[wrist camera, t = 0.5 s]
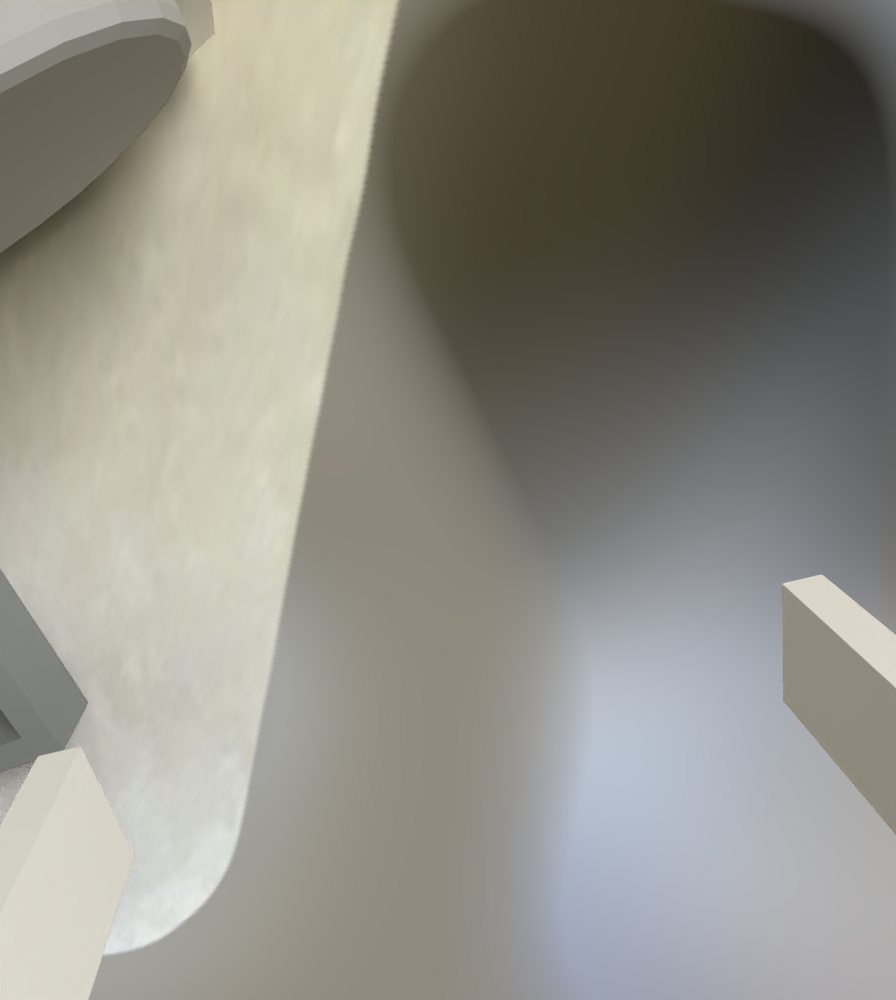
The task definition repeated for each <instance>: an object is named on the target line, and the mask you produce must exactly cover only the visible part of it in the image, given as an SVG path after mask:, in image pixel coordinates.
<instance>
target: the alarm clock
mask: <svg viewBox="0 0 896 1000" xmlns="http://www.w3.org/2000/svg"><path fill="white" fill-rule="evenodd" d="M213 34H214V22H213V12H212V4H211V1H210V0H0V253H1V252H3V251H4V250H5V249H7V248H8V247H10V246H11V245H12V244H14V243H15V242H17V241H18V240H19V239H21V238H22V237H24V236H25V235H26V234H28V233H29V232H31V231H32V230H33V229H35V228H36V227H38V226H39V225H40V224H42V223H43V222H44V221H46V220H47V219H48V218H49V217H51V216H52V215H53V214H54V213H56V212H57V211H58V210H59V209H61V208H62V207H63V206H64V205H66V204H67V203H68V202H69V201H71V200H72V199H73V198H74V197H76V196H77V195H78V194H79V193H80V192H81V191H83V190H84V189H85V188H86V187H87V186H88V185H89V184H90V183H91V182H93V181H94V180H95V179H96V178H97V177H98V176H99V175H100V174H102V173H103V172H104V171H105V170H106V169H107V168H108V167H109V166H110V165H112V164H113V163H114V161H115V160H116V159H117V158H118V157H119V156H120V155H121V154H122V153H123V152H124V151H125V150H126V149H127V148H128V147H129V146H130V145H131V144H132V143H133V142H134V141H135V140H136V139H137V138H138V137H139V136H140V135H141V133H142V132H143V131H144V130H145V128H146V127H147V126H148V125H149V123H150V122H151V121H152V120H153V118H154V117H155V116H156V115H157V113H158V112H159V111H160V110H161V109H162V107H163V106H164V104H165V103H166V101H167V99H168V98H169V96H170V94H171V92H172V91H173V89H174V87H175V86H176V84H177V82H178V81H179V79H180V77H181V75H182V73H183V72H184V70H185V68H186V64H187V60H188V58H189V57H190V56H191V55H192V54H193V53H194V52H195V51H196V50H197V49H198V48H199V47H201V46H202V45H203V44H204V43H205V42H206V41H207V40H208V39H209V38H210V37H211V36H212V35H213Z"/></svg>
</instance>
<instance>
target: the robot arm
mask: <svg viewBox="0 0 896 1000" xmlns="http://www.w3.org/2000/svg"><path fill="white" fill-rule="evenodd" d="M782 599H783V695H784V696H783V701H784V702H785V703H786V705H787V706H788V707H789V708H790V709H791V711H792V712H793V713H794V714H795V715H796V716H797V718H798V719H799V720H800V721H801V722H802V724H803V725H804V726H805V727H806V728H807V730H808V731H809V732H810V733H811V734H812V736H813V737H814V738H815V739H816V740H817V741H818V743H819V744H820V745H821V746H822V747H823V749H824V750H825V751H826V752H827V753H828V754H829V756H830V757H831V758H832V759H833V760H834V762H835V763H836V764H837V765H838V766H839V768H840V769H841V770H842V771H843V772H844V773H845V775H846V776H847V777H848V778H849V779H850V781H851V782H852V783H853V784H854V785H855V787H856V788H857V789H858V790H859V791H860V793H861V794H862V795H863V796H864V797H865V799H866V800H867V801H868V802H869V803H870V804H871V806H872V807H873V808H874V809H875V810H876V812H877V813H878V814H879V815H880V816H881V818H882V819H883V820H884V821H885V822H886V823H887V825H888V826H889V827H890V828H891V829H892V830H893V832H894V833H895V834H896V635H895V634H893V633H892V632H891V631H890V630H889V629H887V628H886V627H885V626H884V625H882V624H881V623H880V622H879V621H878V620H876V619H875V618H874V617H872V615H870V614H869V613H868V612H867V611H865V610H864V609H863V608H862V607H861V606H859V605H858V604H857V603H856V602H855V601H853V600H852V599H851V598H850V597H848V596H847V595H846V594H845V593H844V592H842V591H841V590H840V589H839V588H838V587H836V586H835V585H834V584H832V583H831V582H830V581H829V580H828V579H827V578H825V577H824V576H823V575H818V576H814V577H809V578H805V579H801V580H796V581H792V582H787V583H783V584H782ZM134 856H135V855H134V853H133V851H132V849H131V847H130V845H129V843H128V841H127V839H126V837H125V835H124V833H123V831H122V829H121V827H120V825H119V823H118V821H117V819H116V817H115V815H114V813H113V811H112V809H111V807H110V805H109V803H108V801H107V799H106V797H105V795H104V793H103V791H102V789H101V787H100V785H99V782H98V780H97V778H96V776H95V774H94V772H93V770H92V768H91V766H90V764H89V762H88V760H87V758H86V756H85V754H84V752H83V750H82V748H81V746H80V747H75V748H71V749H67V750H62V751H58V752H54V753H50V754H45V755H41V756H38V757H37V759H36V761H35V763H34V764H33V766H32V768H31V770H30V772H29V774H28V775H27V777H26V779H25V781H24V783H23V785H22V786H21V788H20V790H19V792H18V794H17V796H16V797H15V799H14V801H13V803H12V805H11V807H10V808H9V810H8V812H7V814H6V816H5V818H4V819H3V821H2V823H1V825H0V1000H88V999H89V996H90V993H91V990H92V987H93V984H94V981H95V977H96V974H97V971H98V968H99V965H100V962H101V959H102V956H103V953H104V949H105V946H106V943H107V940H108V937H109V934H110V931H111V928H112V924H113V921H114V918H115V915H116V912H117V909H118V906H119V903H120V900H121V896H122V893H123V890H124V887H125V884H126V881H127V878H128V875H129V871H130V868H131V865H132V862H133V859H134Z"/></svg>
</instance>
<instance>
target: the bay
mask: <svg viewBox="0 0 896 1000" xmlns="http://www.w3.org/2000/svg"><path fill="white" fill-rule="evenodd" d="M87 704H88V702H87V700H86V699H85V697H84V696H83V694H82V693H81V691H80V690H79V688H78V687H77V685H76V684H75V682H74V680H73V679H72V677H71V676H70V674H69V673H68V671H67V670H66V668H65V667H64V665H63V664H62V662H61V661H60V659H59V658H58V656H57V655H56V653H55V652H54V650H53V649H52V647H51V646H50V644H49V643H48V641H47V640H46V638H45V636H44V635H43V633H42V632H41V630H40V629H39V627H38V626H37V624H36V623H35V621H34V620H33V618H32V617H31V615H30V614H29V612H28V611H27V609H26V608H25V606H24V605H23V603H22V602H21V600H20V599H19V597H18V595H17V594H16V592H15V591H14V589H13V588H12V586H11V585H10V583H9V582H8V580H7V579H6V577H5V576H4V574H3V573H2V571H1V570H0V772H3V771H5V770H8V769H11V768H14V767H17V766H20V765H22V764H25V763H28V762H31V761H34V760H36V759H37V757H38V756H41V755H45V754H50V753H54V752H58V751H62V750H64V748H65V746H66V744H67V742H68V741H69V739H70V737H71V735H72V733H73V731H74V729H75V727H76V725H77V723H78V721H79V719H80V717H81V715H82V713H83V712H84V710H85V708H86V706H87Z"/></svg>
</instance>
